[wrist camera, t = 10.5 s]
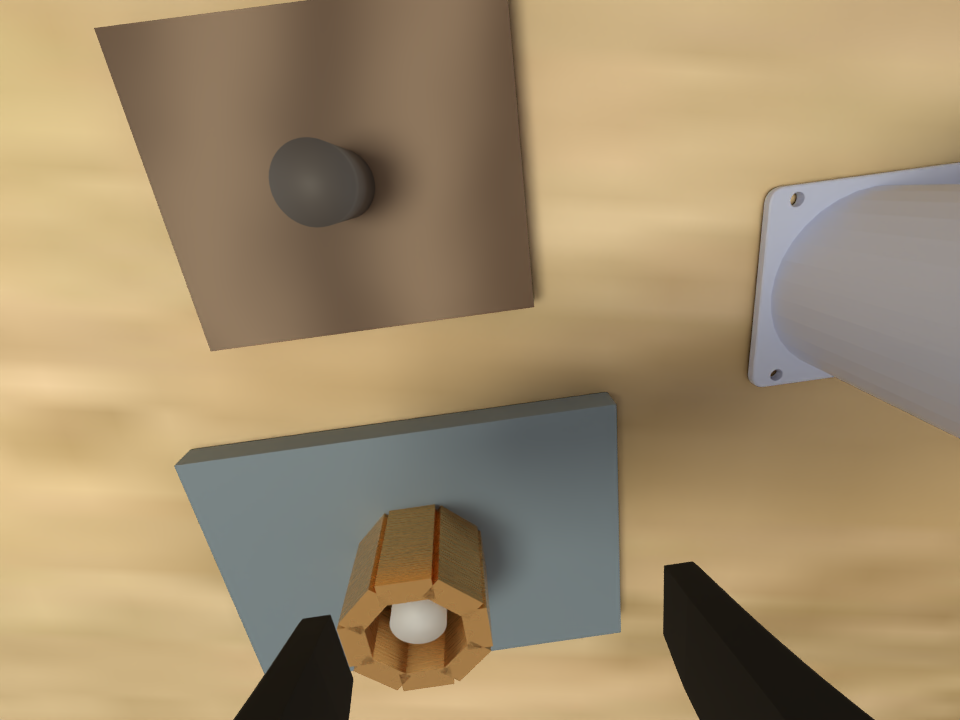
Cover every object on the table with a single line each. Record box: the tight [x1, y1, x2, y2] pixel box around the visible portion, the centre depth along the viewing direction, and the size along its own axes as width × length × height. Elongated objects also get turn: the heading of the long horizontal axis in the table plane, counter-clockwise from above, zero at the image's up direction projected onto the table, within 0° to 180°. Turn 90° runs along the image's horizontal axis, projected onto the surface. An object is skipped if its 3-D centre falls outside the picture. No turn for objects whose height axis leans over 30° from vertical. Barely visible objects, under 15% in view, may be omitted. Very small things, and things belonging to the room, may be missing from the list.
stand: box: [94, 0, 534, 351], centre depth 14 cm, size 12×10×4 cm
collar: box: [337, 504, 493, 691], centre depth 19 cm, size 6×6×4 cm
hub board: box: [175, 392, 621, 674], centre depth 20 cm, size 18×13×4 cm
